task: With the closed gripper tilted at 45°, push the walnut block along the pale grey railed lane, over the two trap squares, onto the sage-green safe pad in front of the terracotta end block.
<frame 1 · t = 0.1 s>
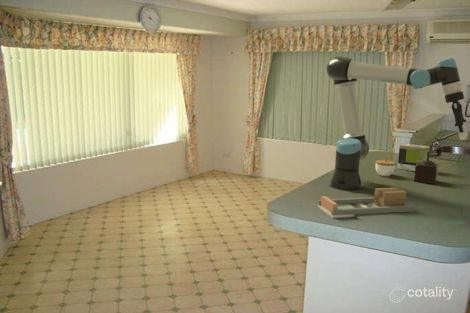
hand: (464, 138, 188), 28 cm above the worktop, tool tilted 20°, fingers open, 13 cm apart
lidded jar: (384, 175, 233), on the worktop
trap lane: (365, 209, 171), on the worktop
tea box: (412, 170, 249), on the worktop
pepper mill: (427, 180, 224), on the worktop
walnut block: (389, 206, 173), point 1 cm above the worktop, touching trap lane
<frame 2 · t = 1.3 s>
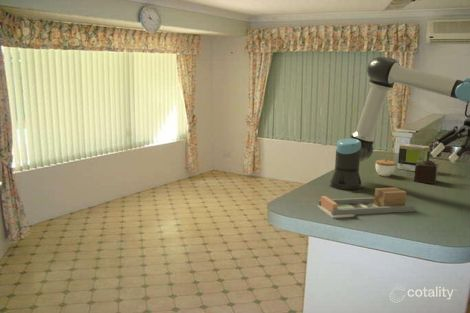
hand: (441, 158, 175), 21 cm above the worktop, tool tilted 45°, fingers open, 10 cm apart
nothing on the worktop moved.
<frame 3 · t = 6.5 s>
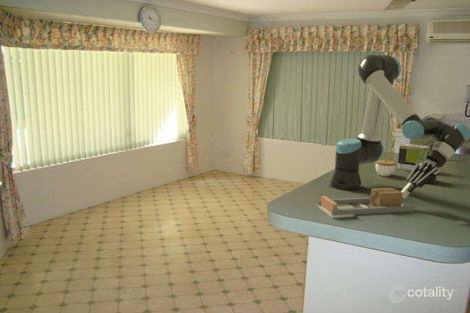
hand: (401, 196, 171), 6 cm above the worktop, tool tilted 45°, fingers closed
walnut block: (385, 206, 172), point 1 cm above the worktop, touching gripper, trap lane
everything else where it was.
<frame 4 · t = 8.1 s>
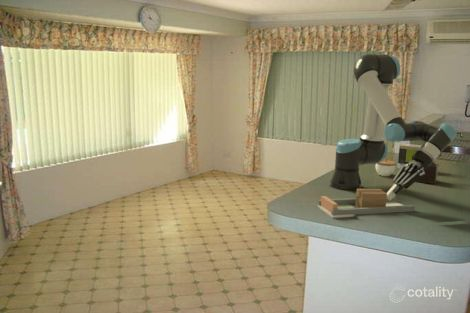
hand: (387, 198, 169), 5 cm above the worktop, tool tilted 45°, fingers closed
walnut block: (370, 207, 171), point 1 cm above the worktop, touching gripper
everything else where it was.
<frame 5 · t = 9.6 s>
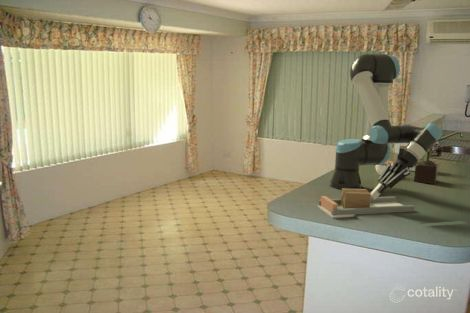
hand: (371, 197, 169), 6 cm above the worktop, tool tilted 45°, fingers closed
walnut block: (354, 207, 170), point 1 cm above the worktop, touching gripper, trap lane
everything else where it was.
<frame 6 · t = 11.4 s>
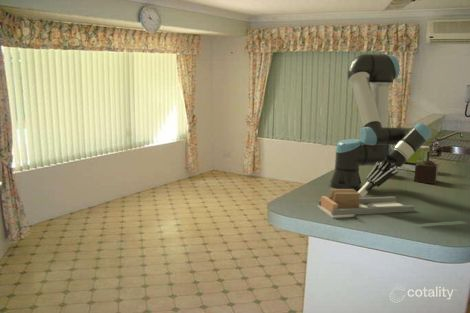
hand: (359, 195, 169), 6 cm above the worktop, tool tilted 45°, fingers closed
walnut block: (343, 207, 170), point 1 cm above the worktop, touching gripper, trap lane
everything else where it was.
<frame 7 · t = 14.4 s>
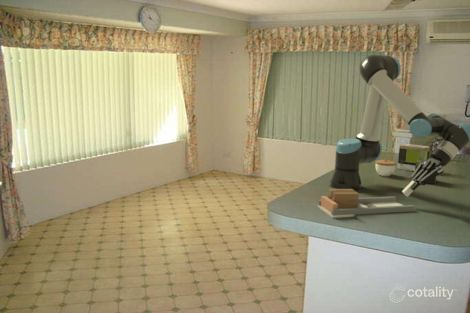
hand: (404, 194, 173), 6 cm above the worktop, tool tilted 45°, fingers closed
walnut block: (342, 207, 170), point 1 cm above the worktop, touching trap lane
everything else where it was.
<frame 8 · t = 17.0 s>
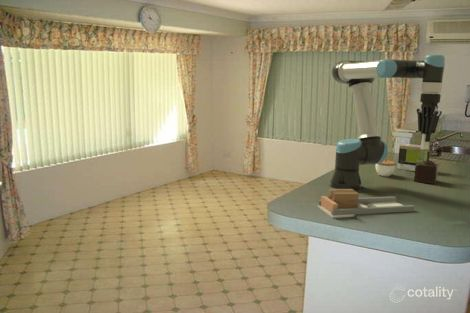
hand: (424, 149, 176), 24 cm above the worktop, tool pointing down, fingers closed
nothing on the worktop moved.
at the end: walnut block inside the target area (1.4 cm from its centre), point 1.0 cm above the worktop; walnut block tilted 0°; walnut block moved 20.7 cm from its start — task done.
